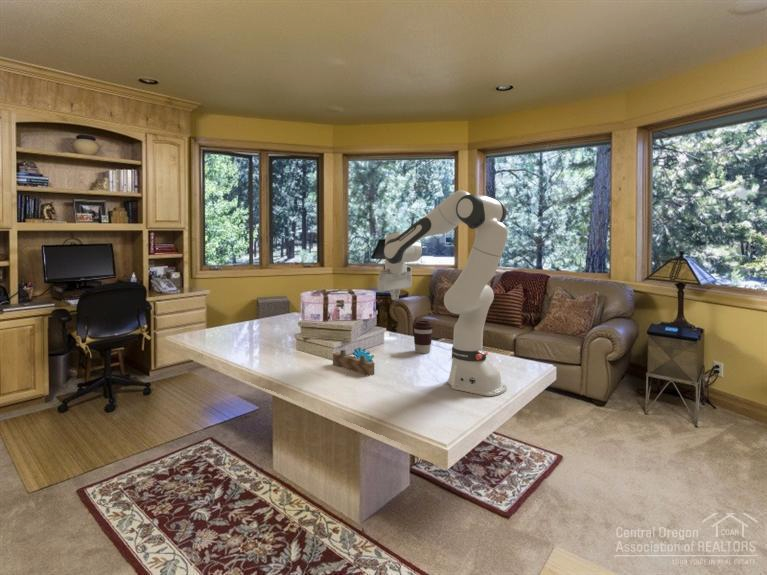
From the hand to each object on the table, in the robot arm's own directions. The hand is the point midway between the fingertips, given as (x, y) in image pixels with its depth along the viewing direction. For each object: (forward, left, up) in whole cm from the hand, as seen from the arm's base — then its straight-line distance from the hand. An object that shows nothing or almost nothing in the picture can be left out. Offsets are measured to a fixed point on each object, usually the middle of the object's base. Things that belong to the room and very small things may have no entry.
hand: (395, 299), depth 201 cm
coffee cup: (-1, -20, -28) cm, 35 cm away
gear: (+4, +16, -28) cm, 33 cm away
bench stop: (+3, +23, -28) cm, 36 cm away
